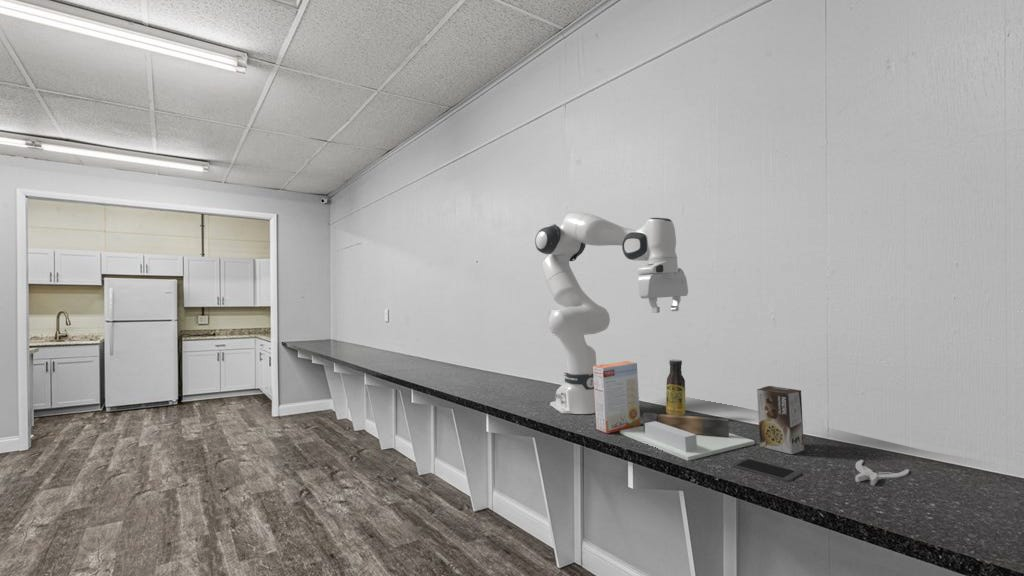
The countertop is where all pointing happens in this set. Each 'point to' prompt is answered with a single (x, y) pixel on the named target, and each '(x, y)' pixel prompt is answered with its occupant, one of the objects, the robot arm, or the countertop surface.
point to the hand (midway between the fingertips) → (665, 311)
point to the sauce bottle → (675, 389)
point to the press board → (701, 440)
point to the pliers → (875, 474)
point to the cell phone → (767, 469)
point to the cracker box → (616, 396)
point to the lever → (691, 423)
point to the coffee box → (780, 419)
